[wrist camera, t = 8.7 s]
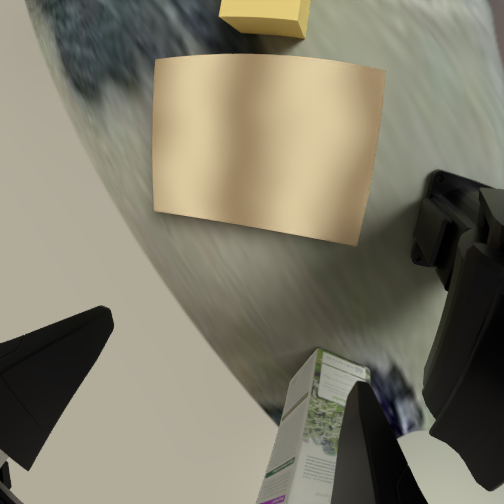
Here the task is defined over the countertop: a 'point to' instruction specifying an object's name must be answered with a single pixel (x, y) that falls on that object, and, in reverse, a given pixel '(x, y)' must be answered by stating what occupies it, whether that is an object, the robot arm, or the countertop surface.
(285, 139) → the cutting board
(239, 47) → the countertop surface
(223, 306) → the countertop surface
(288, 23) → the mustard block
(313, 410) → the syrup box
